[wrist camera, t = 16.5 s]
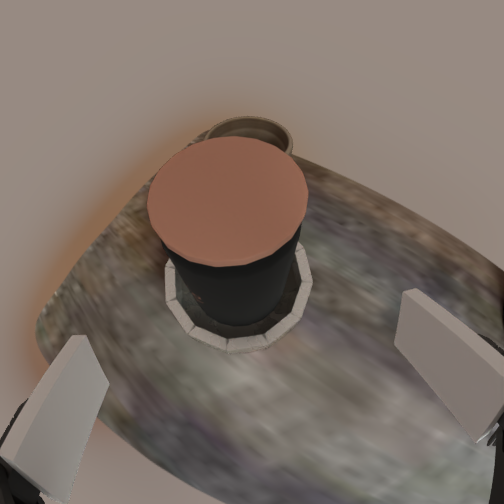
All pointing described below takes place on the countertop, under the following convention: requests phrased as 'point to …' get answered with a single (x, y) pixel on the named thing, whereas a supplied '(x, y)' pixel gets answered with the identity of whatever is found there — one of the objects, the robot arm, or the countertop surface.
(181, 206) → the coffee jar
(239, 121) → the flower pot
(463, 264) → the countertop surface
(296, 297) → the cup bracket
